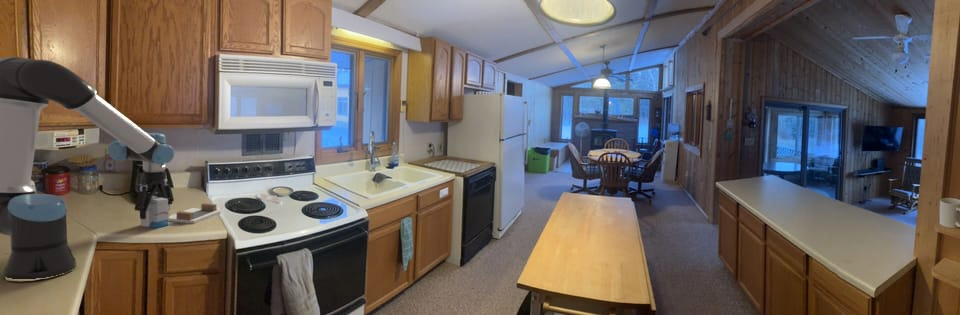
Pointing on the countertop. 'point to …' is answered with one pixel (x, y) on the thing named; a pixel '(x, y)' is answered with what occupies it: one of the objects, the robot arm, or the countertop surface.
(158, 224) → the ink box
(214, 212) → the board
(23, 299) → the countertop surface
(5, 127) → the robot arm
